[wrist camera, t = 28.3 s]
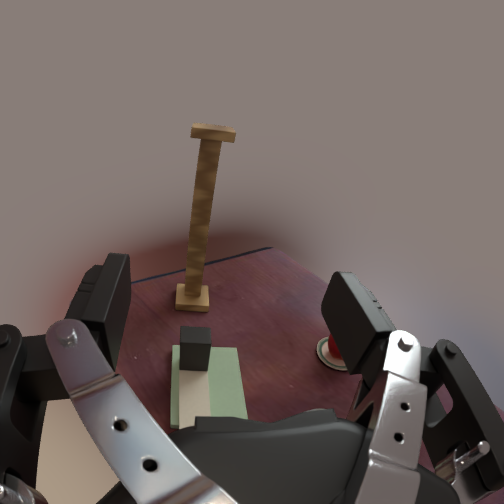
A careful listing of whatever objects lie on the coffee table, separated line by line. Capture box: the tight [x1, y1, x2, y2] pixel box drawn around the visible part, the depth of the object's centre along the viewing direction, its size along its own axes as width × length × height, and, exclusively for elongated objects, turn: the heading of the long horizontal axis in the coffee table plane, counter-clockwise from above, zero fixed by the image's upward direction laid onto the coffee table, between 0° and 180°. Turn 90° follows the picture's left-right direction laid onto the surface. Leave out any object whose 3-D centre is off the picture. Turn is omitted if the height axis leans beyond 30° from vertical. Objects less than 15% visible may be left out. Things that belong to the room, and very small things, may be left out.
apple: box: [317, 334, 347, 370], centre depth 48 cm, size 8×8×6 cm
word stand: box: [175, 123, 236, 312], centre depth 47 cm, size 6×6×32 cm
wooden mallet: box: [179, 326, 211, 429], centre depth 35 cm, size 4×13×7 cm, turn 8°
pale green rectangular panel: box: [170, 345, 248, 429], centre depth 39 cm, size 10×14×1 cm
